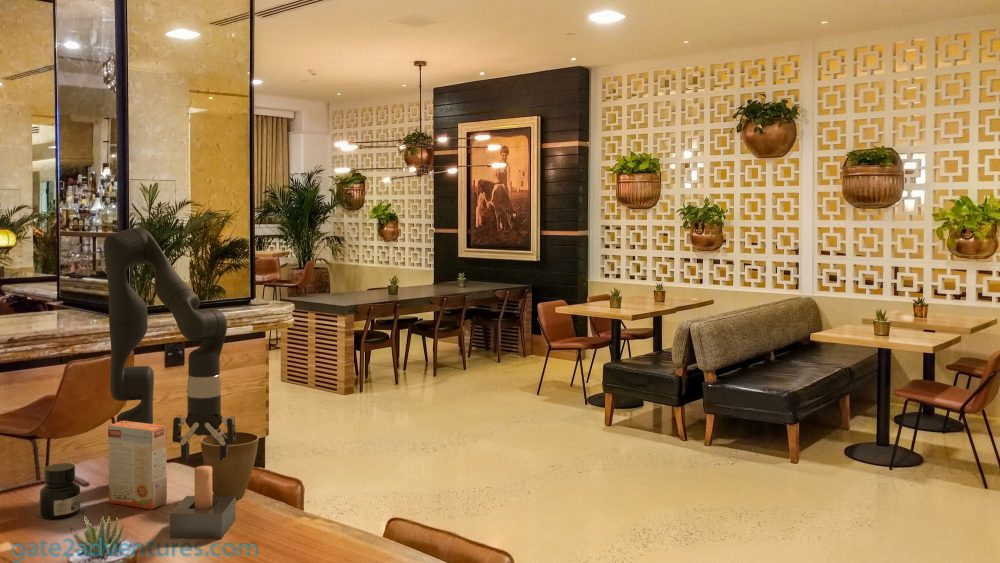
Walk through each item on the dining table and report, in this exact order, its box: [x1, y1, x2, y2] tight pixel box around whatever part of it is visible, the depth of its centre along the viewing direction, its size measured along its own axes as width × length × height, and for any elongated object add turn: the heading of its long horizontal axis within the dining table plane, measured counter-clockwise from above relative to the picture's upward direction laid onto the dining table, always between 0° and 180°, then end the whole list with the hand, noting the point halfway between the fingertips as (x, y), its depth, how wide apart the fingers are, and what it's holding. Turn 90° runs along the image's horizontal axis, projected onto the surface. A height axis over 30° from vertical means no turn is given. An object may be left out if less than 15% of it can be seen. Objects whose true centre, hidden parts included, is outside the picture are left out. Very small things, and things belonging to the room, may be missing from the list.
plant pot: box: [199, 431, 260, 500], centre depth 223 cm, size 15×15×16 cm
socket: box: [169, 495, 237, 540], centre depth 200 cm, size 12×12×6 cm
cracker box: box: [107, 421, 168, 510], centre depth 215 cm, size 14×6×21 cm, turn 71°
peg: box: [194, 465, 213, 509], centre depth 200 cm, size 4×4×14 cm
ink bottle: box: [39, 462, 81, 520], centre depth 207 cm, size 10×9×12 cm
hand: (204, 459), depth 199 cm, fingers open, 8 cm apart
